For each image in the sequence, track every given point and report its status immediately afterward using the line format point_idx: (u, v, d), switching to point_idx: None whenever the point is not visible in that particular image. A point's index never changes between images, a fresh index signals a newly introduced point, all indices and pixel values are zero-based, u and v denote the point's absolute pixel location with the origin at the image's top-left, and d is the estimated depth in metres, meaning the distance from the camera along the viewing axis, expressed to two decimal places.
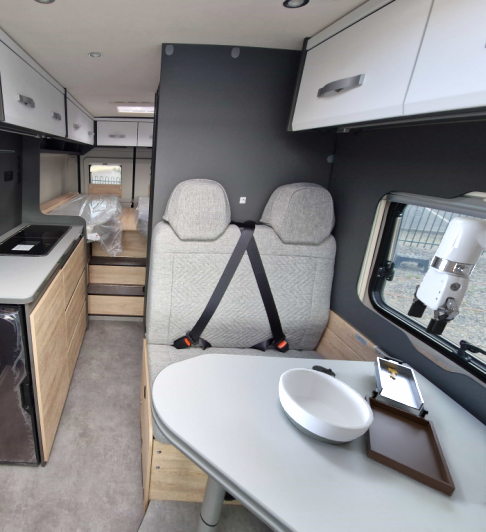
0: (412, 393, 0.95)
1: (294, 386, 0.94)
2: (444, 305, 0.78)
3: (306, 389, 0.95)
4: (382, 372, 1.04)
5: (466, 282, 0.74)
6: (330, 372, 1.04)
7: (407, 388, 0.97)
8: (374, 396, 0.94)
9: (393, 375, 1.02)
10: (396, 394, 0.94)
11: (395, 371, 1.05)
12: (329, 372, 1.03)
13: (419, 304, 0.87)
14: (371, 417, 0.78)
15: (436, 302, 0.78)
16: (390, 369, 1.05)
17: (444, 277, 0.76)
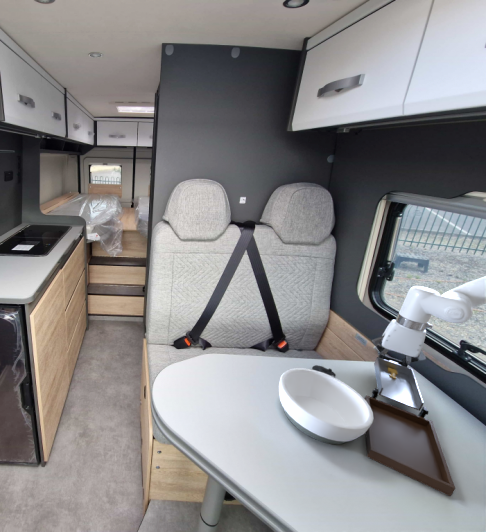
0: (412, 393, 0.95)
1: (294, 386, 0.94)
2: None
3: (306, 389, 0.95)
4: (382, 372, 1.04)
5: None
6: (330, 372, 1.04)
7: (407, 388, 0.97)
8: (374, 396, 0.94)
9: (393, 375, 1.02)
10: (396, 394, 0.94)
11: (395, 371, 1.05)
12: (329, 372, 1.03)
13: (384, 354, 1.09)
14: (371, 417, 0.78)
15: (418, 352, 1.02)
16: (390, 369, 1.05)
17: (422, 335, 1.00)
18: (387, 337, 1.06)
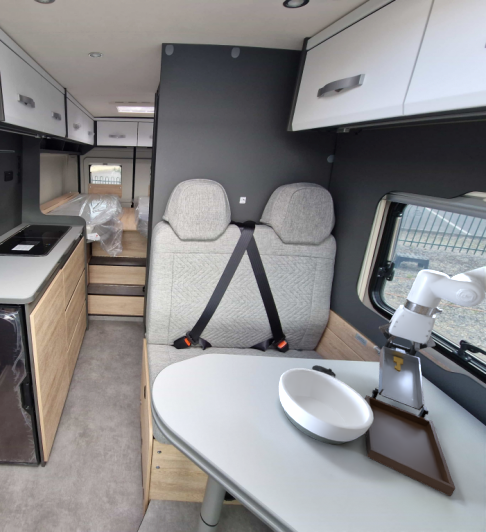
0: (415, 388, 0.94)
1: (294, 386, 0.94)
2: None
3: (306, 389, 0.95)
4: (387, 363, 1.02)
5: None
6: (330, 372, 1.04)
7: (411, 382, 0.96)
8: (374, 396, 0.94)
9: (398, 367, 1.01)
10: (397, 392, 0.94)
11: (401, 361, 1.02)
12: (329, 372, 1.03)
13: (392, 341, 1.05)
14: (371, 417, 0.78)
15: (427, 338, 0.98)
16: (396, 359, 1.03)
17: (431, 320, 0.97)
18: (395, 323, 1.02)
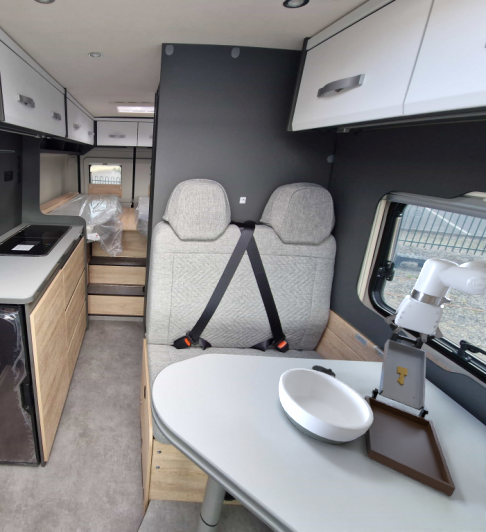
0: (418, 385, 0.93)
1: (294, 386, 0.94)
2: None
3: (306, 389, 0.95)
4: (391, 357, 1.00)
5: None
6: (330, 372, 1.04)
7: (414, 378, 0.95)
8: (374, 396, 0.94)
9: (401, 379, 0.95)
10: (398, 390, 0.93)
11: (405, 371, 0.96)
12: (329, 372, 1.03)
13: (398, 333, 1.02)
14: (371, 417, 0.78)
15: (434, 329, 0.95)
16: (399, 369, 0.97)
17: (439, 310, 0.93)
18: (401, 314, 0.99)
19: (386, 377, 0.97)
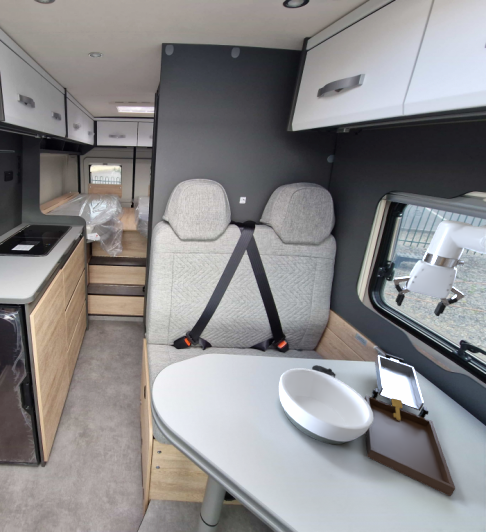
0: (412, 392, 0.95)
1: (294, 386, 0.94)
2: None
3: (306, 389, 0.95)
4: (383, 371, 1.04)
5: None
6: (330, 372, 1.04)
7: (408, 387, 0.97)
8: (374, 396, 0.94)
9: (397, 414, 0.89)
10: (396, 394, 0.94)
11: (400, 404, 0.91)
12: (329, 372, 1.03)
13: (403, 294, 1.02)
14: (371, 417, 0.78)
15: (447, 292, 0.94)
16: (394, 402, 0.91)
17: (453, 272, 0.93)
18: (413, 278, 0.98)
19: (382, 383, 0.98)
